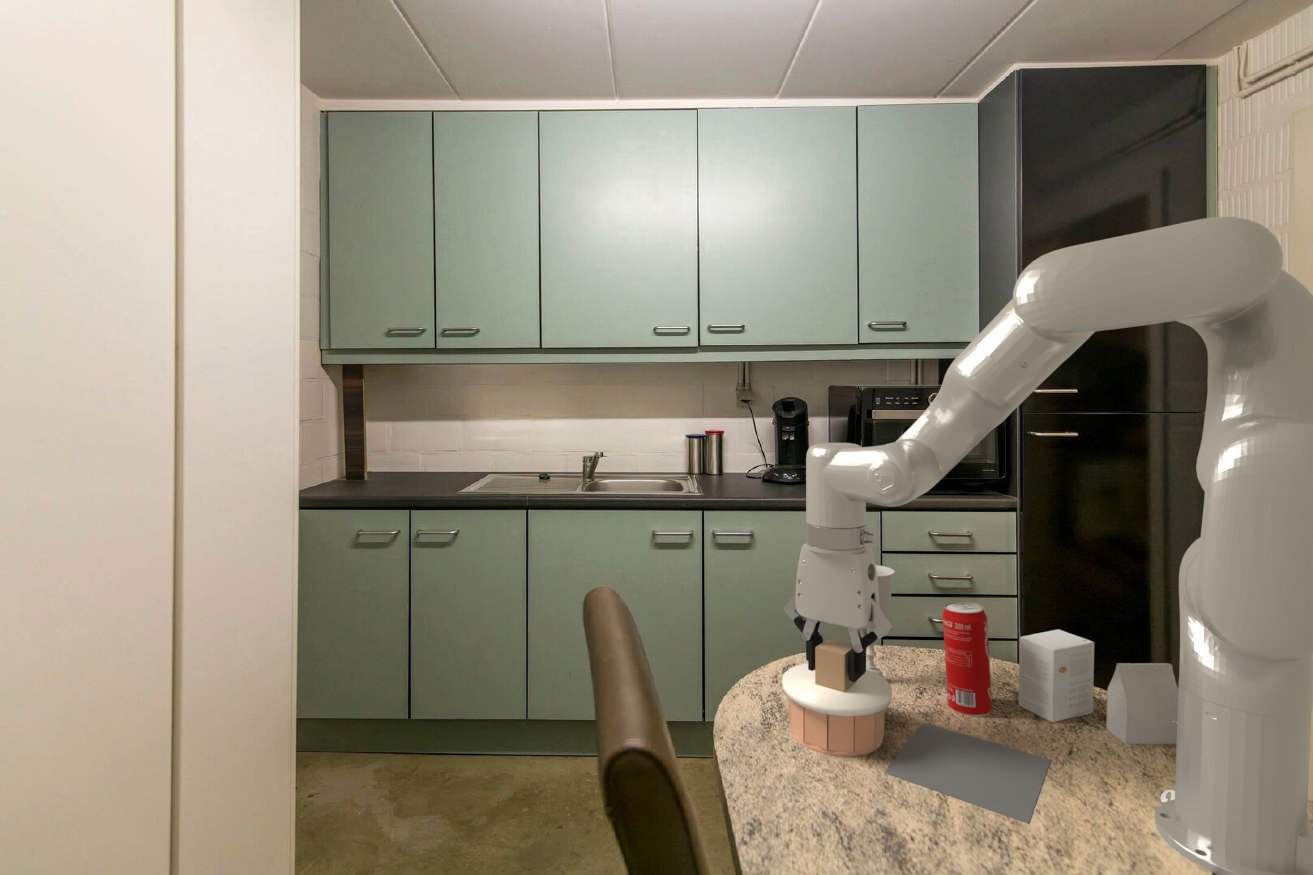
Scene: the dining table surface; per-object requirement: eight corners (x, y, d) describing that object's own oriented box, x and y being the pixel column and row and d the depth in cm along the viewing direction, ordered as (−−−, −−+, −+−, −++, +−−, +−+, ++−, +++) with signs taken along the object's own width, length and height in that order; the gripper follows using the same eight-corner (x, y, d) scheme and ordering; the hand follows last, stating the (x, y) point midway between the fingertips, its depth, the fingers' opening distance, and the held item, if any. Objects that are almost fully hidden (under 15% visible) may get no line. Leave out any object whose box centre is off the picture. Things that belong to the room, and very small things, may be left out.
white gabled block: (1180, 746, 82) (1182, 669, 81) (1125, 746, 82) (1128, 670, 81) (1158, 732, 85) (1160, 658, 85) (1106, 731, 86) (1108, 658, 85)
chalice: (867, 670, 106) (867, 562, 105) (903, 684, 100) (904, 571, 99) (837, 681, 102) (837, 569, 101) (873, 697, 96) (874, 578, 95)
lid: (907, 685, 87) (907, 642, 86) (867, 727, 76) (868, 677, 75) (810, 660, 95) (810, 620, 95) (763, 694, 85) (762, 650, 84)
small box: (1057, 697, 96) (1058, 628, 95) (1094, 714, 90) (1096, 641, 90) (1016, 707, 93) (1018, 635, 92) (1052, 725, 88) (1054, 649, 87)
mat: (1050, 762, 79) (1050, 759, 79) (1028, 826, 67) (1028, 822, 67) (923, 725, 88) (923, 722, 88) (884, 775, 76) (884, 772, 76)
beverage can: (997, 721, 89) (999, 614, 88) (947, 717, 90) (948, 611, 89) (984, 701, 95) (986, 600, 94) (937, 697, 96) (938, 598, 95)
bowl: (895, 729, 87) (896, 686, 86) (862, 770, 77) (862, 721, 77) (813, 704, 94) (813, 664, 94) (773, 738, 85) (773, 694, 85)
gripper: (911, 540, 82) (910, 679, 83) (790, 525, 93) (790, 649, 94) (891, 551, 76) (890, 701, 77) (764, 534, 87) (764, 666, 88)
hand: (835, 671), depth 85 cm, fingers open, 5 cm apart
